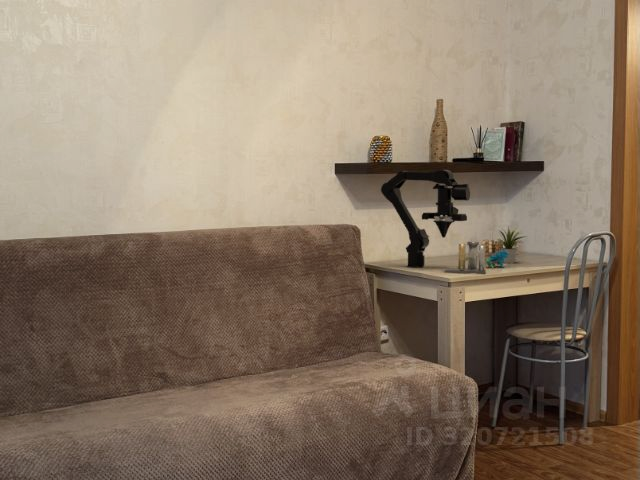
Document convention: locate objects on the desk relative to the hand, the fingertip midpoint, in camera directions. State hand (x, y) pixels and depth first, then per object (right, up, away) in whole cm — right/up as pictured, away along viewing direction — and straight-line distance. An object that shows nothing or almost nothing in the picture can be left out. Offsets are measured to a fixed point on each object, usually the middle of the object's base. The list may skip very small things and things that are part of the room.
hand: (443, 237), depth 327 cm
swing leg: (+8, -12, -8) cm, 16 cm away
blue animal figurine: (+23, -13, +6) cm, 27 cm away
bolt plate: (+7, -14, -12) cm, 19 cm away
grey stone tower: (+12, -14, -6) cm, 19 cm away
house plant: (+32, -11, +22) cm, 40 cm away
